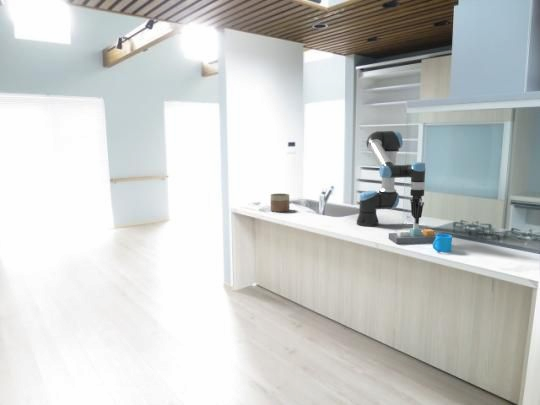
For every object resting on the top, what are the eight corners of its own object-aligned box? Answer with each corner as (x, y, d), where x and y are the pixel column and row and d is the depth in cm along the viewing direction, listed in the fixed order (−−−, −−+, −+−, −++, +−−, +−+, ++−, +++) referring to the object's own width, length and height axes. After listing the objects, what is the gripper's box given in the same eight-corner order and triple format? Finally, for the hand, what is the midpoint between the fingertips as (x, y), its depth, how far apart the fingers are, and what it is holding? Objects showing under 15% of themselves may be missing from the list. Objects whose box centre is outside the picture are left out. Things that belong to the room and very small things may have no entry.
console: (388, 238, 241) (388, 233, 240) (432, 237, 243) (433, 231, 243) (396, 244, 229) (396, 238, 228) (442, 242, 232) (443, 236, 231)
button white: (396, 237, 237) (397, 230, 237) (404, 236, 238) (404, 230, 237) (400, 239, 233) (400, 232, 232) (408, 238, 233) (408, 232, 232)
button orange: (422, 235, 239) (422, 229, 238) (430, 235, 239) (430, 229, 238) (426, 237, 234) (426, 231, 233) (434, 237, 234) (434, 231, 234)
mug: (442, 247, 221) (442, 233, 220) (454, 251, 214) (455, 236, 213) (426, 250, 216) (427, 235, 214) (439, 254, 209) (440, 239, 207)
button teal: (409, 234, 238) (410, 228, 237) (417, 234, 238) (417, 227, 238) (413, 236, 233) (413, 229, 232) (421, 236, 234) (421, 229, 233)
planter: (279, 213, 326) (279, 196, 324) (266, 210, 338) (266, 194, 335) (293, 210, 337) (293, 194, 334) (280, 208, 348) (280, 192, 346)
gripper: (406, 187, 237) (405, 226, 241) (416, 190, 224) (414, 231, 228) (418, 187, 238) (416, 226, 241) (429, 190, 225) (427, 230, 229)
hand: (415, 228), depth 235 cm, fingers closed
